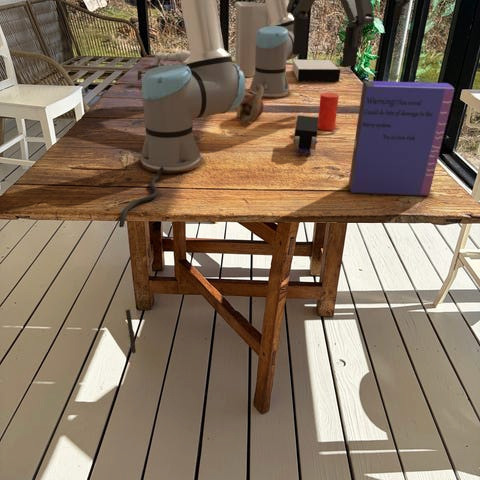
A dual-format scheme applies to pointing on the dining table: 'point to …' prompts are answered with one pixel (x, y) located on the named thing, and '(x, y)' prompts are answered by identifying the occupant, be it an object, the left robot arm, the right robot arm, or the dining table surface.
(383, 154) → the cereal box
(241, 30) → the tall cream pillar
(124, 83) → the dining table surface
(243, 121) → the brown lumpy shape
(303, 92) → the dining table surface
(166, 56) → the toy
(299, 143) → the figurine character
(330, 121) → the can
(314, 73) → the disc drive
